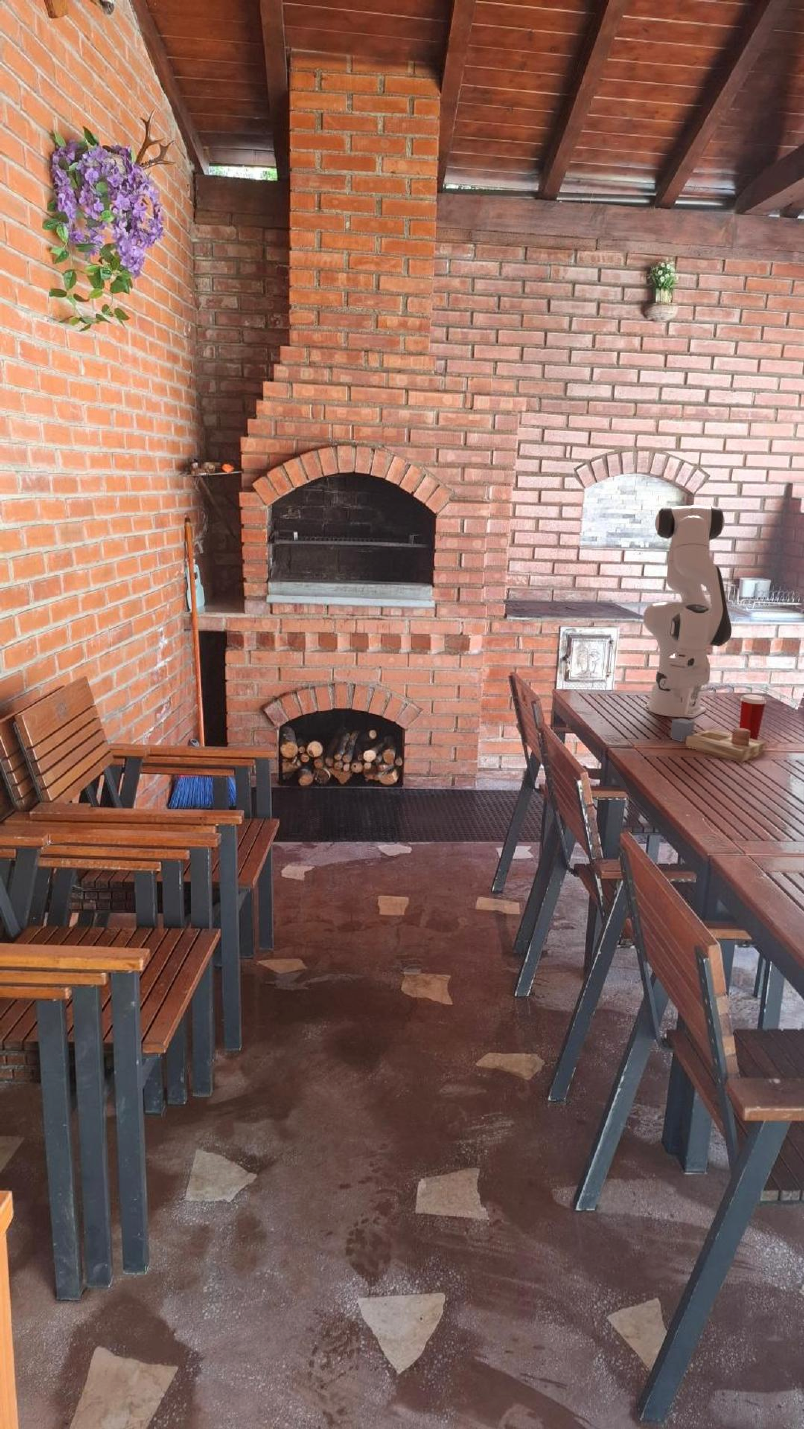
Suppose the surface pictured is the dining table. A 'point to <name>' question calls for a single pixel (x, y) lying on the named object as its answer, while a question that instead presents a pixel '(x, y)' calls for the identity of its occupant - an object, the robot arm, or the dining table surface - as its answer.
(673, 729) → the slate block
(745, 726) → the paper cup
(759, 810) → the dining table surface
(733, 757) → the assembly board
